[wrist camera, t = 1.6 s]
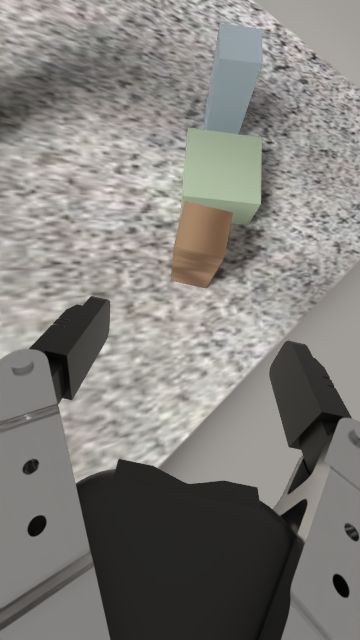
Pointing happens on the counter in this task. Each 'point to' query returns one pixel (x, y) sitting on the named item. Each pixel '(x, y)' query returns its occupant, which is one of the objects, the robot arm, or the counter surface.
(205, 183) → the base block
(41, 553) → the robot arm
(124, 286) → the counter surface
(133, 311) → the counter surface
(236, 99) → the slate block
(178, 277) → the walnut block
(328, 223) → the counter surface
